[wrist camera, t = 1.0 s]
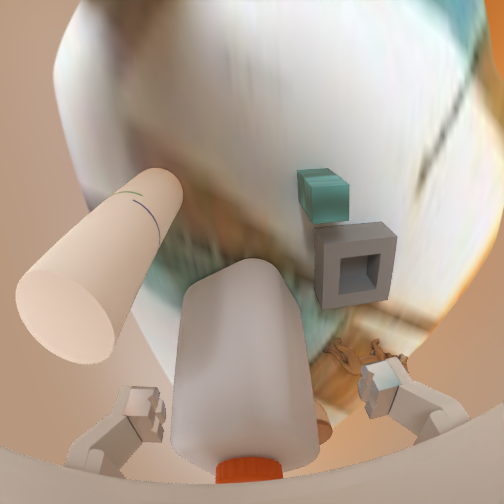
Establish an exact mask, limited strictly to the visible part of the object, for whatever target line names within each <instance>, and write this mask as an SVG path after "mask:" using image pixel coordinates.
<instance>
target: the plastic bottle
mask: <svg viewBox="0 0 504 504" xmlns="http://www.w3.org/2000/svg"><path fill="white" fill-rule="evenodd" d="M171 419H172V420H171V436H170V442H171V446H172V448H173V450H174V451H175V452H176V453H177V454H178V455H179V456H181V457H182V458H184V459H185V460H187V461H189V462H190V463H192V464H194V465H195V466H197V467H199V468H201V469H203V470H205V471H207V472H209V473H211V474H213V475H215V476H216V484H227V483H245V482H257V481H267V480H276V479H283V474H282V473H283V472H287V471H290V470H294V469H297V468H301V467H304V466H306V465H308V464H310V463H312V462H313V461H314V460H315V459H316V458H317V456H318V454H319V451H320V445H319V436H318V428H317V420H316V412H315V405H314V397H313V390H312V383H311V376H310V369H309V362H308V355H307V348H306V342H305V335H304V329H303V323H302V317H301V311H300V308H299V306H298V304H297V303H296V301H295V299H294V297H293V295H292V294H291V292H290V290H289V288H288V287H287V285H286V283H285V281H284V279H283V278H282V276H281V274H280V272H279V271H278V270H277V268H276V267H275V266H274V265H272V264H271V263H269V262H267V261H265V260H262V259H256V258H249V259H244V260H241V261H239V262H237V263H234V264H232V265H230V266H228V267H226V268H224V269H222V270H220V271H218V272H216V273H214V274H212V275H210V276H208V277H206V278H204V279H202V280H199V281H197V282H196V283H194V284H192V285H191V286H190V287H189V288H188V289H187V291H186V292H185V294H184V297H183V303H182V311H181V320H180V328H179V337H178V347H177V357H176V367H175V378H174V391H173V405H172V418H171Z"/></svg>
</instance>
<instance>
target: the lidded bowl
mask: <svg viewBox="0 0 504 504" xmlns="http://www.w3.org/2000/svg"><path fill="white" fill-rule="evenodd" d="M314 405H315V412H316V420H317V428H318V436H319V445H321V444H323V443H324V442H326V441H327V440H328V439H329V438H330V437H331V435H332V427H331V425H330V422H329V419H328V416H327V413H326V411H325V410H324V408H323V407H322V406H321V404H319V403H318V402H317V401H315V400H314Z"/></svg>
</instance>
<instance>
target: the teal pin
mask: <svg viewBox="0 0 504 504" xmlns="http://www.w3.org/2000/svg"><path fill="white" fill-rule="evenodd" d="M297 176H298V195H299V202H300V204H301V205H302V207H303V209H304V210H305V212H306V214H307V215H308V217H309V219H310V220H311V222H312V224H319V223H330V222H341V221H349V184H348V183H347V182H345V181H344V180H343V179H341V178H340V177H339V176H338V175H336V174H335V173H334V172H332V171H331V170H330V169H328V168H326V169H310V170H297Z"/></svg>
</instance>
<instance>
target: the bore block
mask: <svg viewBox="0 0 504 504" xmlns="http://www.w3.org/2000/svg"><path fill="white" fill-rule="evenodd" d="M396 242H397V236H396V235H395V234H394V233H393V232H392V231H391V230H390V229H389V228H388V227H387V226H386V225H385V224H384V223H382V222H373V223H362V224H351V225H340V226H330V227H319V228H315V287H314V290H315V292H316V295H317V298H318V301H319V303H320V306H321V309H322V310H327V309H334V308H340V307H347V306H353V305H360V304H366V303H372V302H378V301H384V300H388V296H389V290H390V284H391V278H392V272H393V265H394V258H395V251H396Z"/></svg>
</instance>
